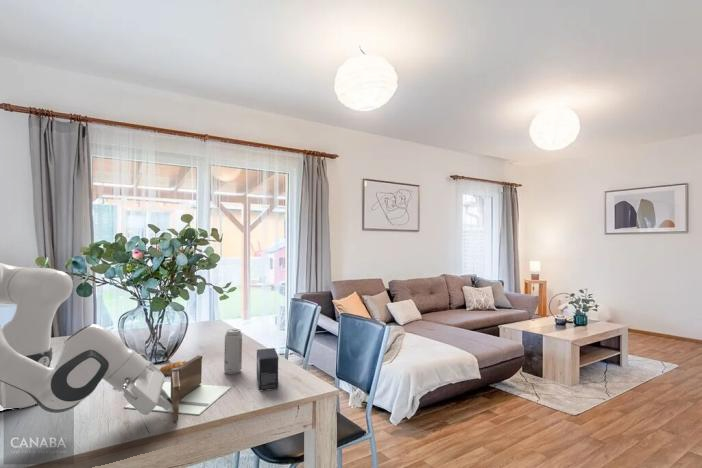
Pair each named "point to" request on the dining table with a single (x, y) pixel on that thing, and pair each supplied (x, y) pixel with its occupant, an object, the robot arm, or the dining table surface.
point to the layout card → (193, 399)
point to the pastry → (170, 367)
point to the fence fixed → (188, 375)
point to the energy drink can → (233, 351)
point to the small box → (267, 369)
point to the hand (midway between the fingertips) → (170, 405)
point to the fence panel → (175, 395)
